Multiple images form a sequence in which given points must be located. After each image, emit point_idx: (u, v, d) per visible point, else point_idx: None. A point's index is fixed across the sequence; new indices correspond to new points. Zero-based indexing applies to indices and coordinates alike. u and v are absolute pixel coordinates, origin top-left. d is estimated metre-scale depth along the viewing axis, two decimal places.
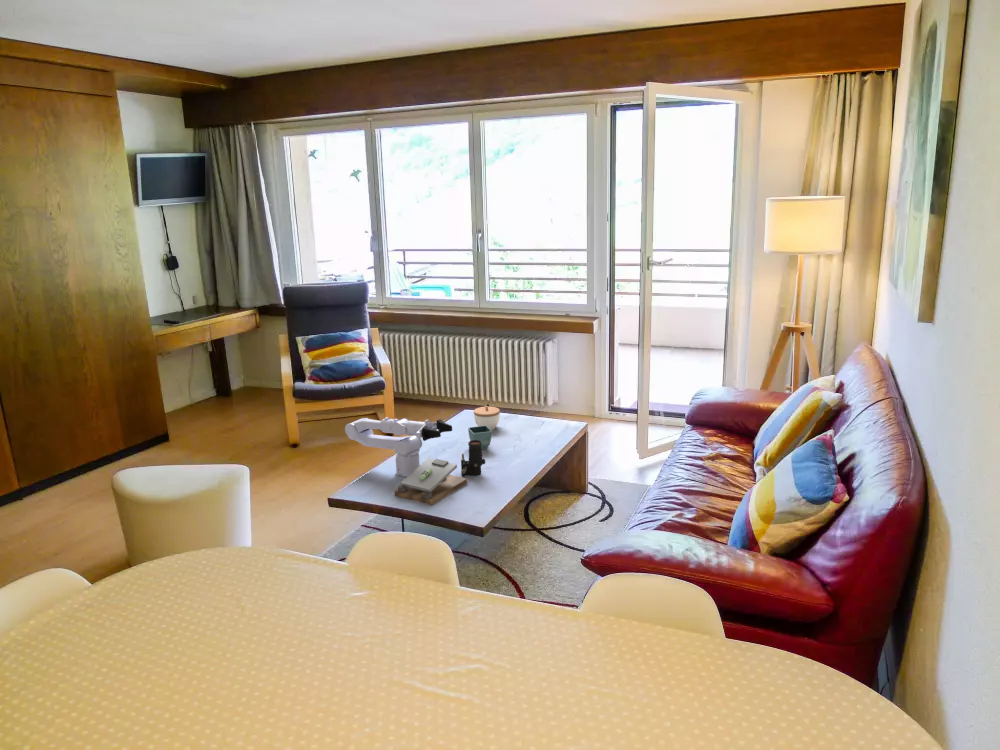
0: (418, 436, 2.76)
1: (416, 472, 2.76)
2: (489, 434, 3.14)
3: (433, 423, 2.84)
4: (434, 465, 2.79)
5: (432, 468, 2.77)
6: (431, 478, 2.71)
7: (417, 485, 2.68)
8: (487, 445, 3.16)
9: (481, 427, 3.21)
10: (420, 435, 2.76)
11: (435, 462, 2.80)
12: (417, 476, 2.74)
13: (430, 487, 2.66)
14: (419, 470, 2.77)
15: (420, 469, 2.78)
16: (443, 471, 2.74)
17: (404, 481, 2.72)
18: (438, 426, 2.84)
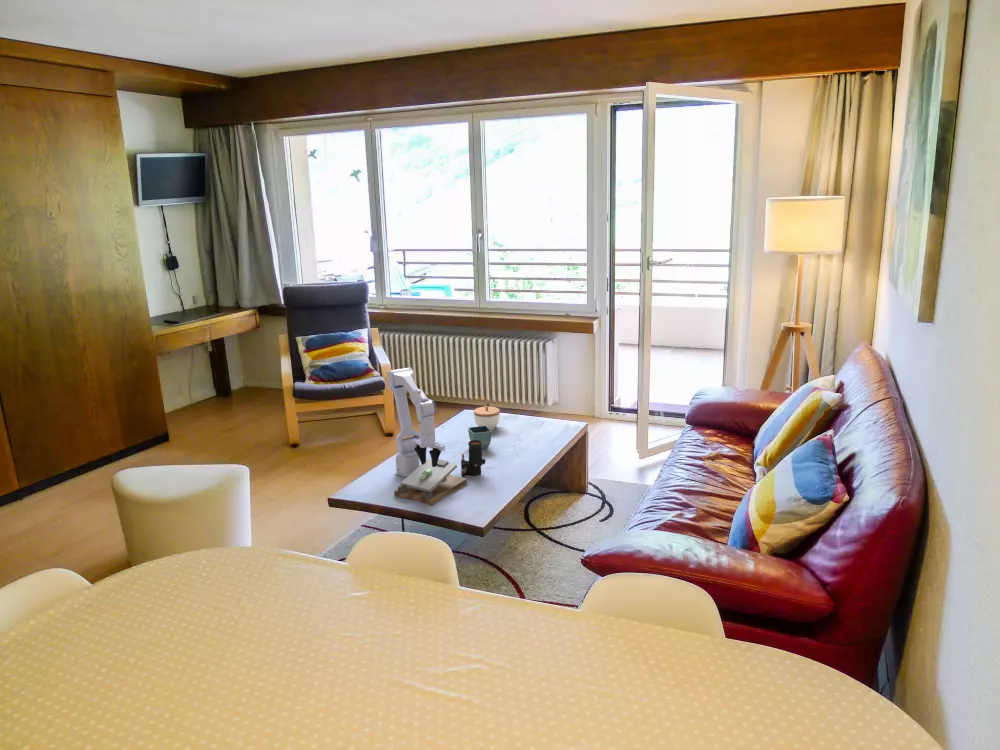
0: None
1: (416, 472, 2.76)
2: (489, 434, 3.14)
3: None
4: None
5: (432, 468, 2.77)
6: (431, 478, 2.71)
7: (417, 485, 2.68)
8: (487, 445, 3.16)
9: (481, 427, 3.21)
10: None
11: None
12: (417, 476, 2.74)
13: (430, 487, 2.66)
14: (419, 470, 2.77)
15: (420, 469, 2.78)
16: (443, 471, 2.74)
17: (404, 481, 2.72)
18: None
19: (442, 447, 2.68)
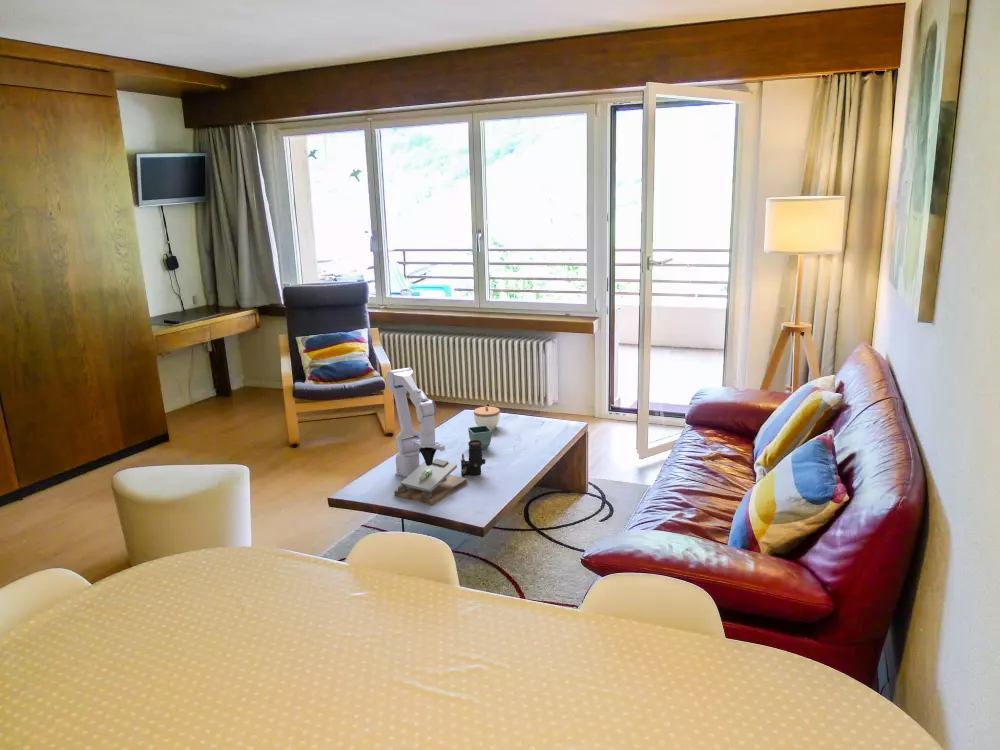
0: None
1: (416, 472, 2.76)
2: (489, 434, 3.14)
3: None
4: (434, 465, 2.79)
5: (432, 468, 2.77)
6: (431, 478, 2.71)
7: (417, 485, 2.68)
8: (487, 445, 3.16)
9: (481, 427, 3.21)
10: None
11: (435, 462, 2.80)
12: (417, 476, 2.74)
13: (430, 487, 2.66)
14: (419, 470, 2.77)
15: (420, 469, 2.78)
16: (443, 471, 2.74)
17: (404, 481, 2.72)
18: None
19: (442, 447, 2.68)
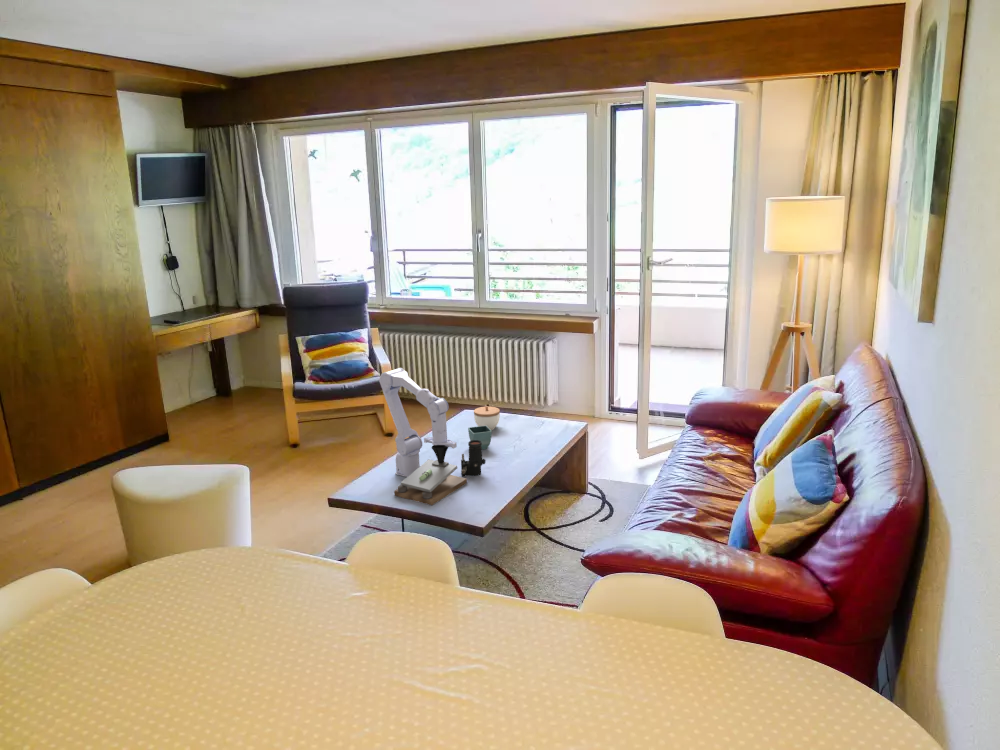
0: None
1: (416, 472, 2.77)
2: (489, 434, 3.14)
3: None
4: (434, 466, 2.79)
5: (432, 469, 2.78)
6: (431, 478, 2.71)
7: (417, 485, 2.68)
8: (487, 445, 3.16)
9: (481, 427, 3.21)
10: None
11: (435, 463, 2.80)
12: (417, 476, 2.74)
13: (430, 487, 2.66)
14: (419, 471, 2.78)
15: (420, 469, 2.79)
16: (443, 472, 2.75)
17: (404, 481, 2.72)
18: None
19: (454, 444, 2.74)
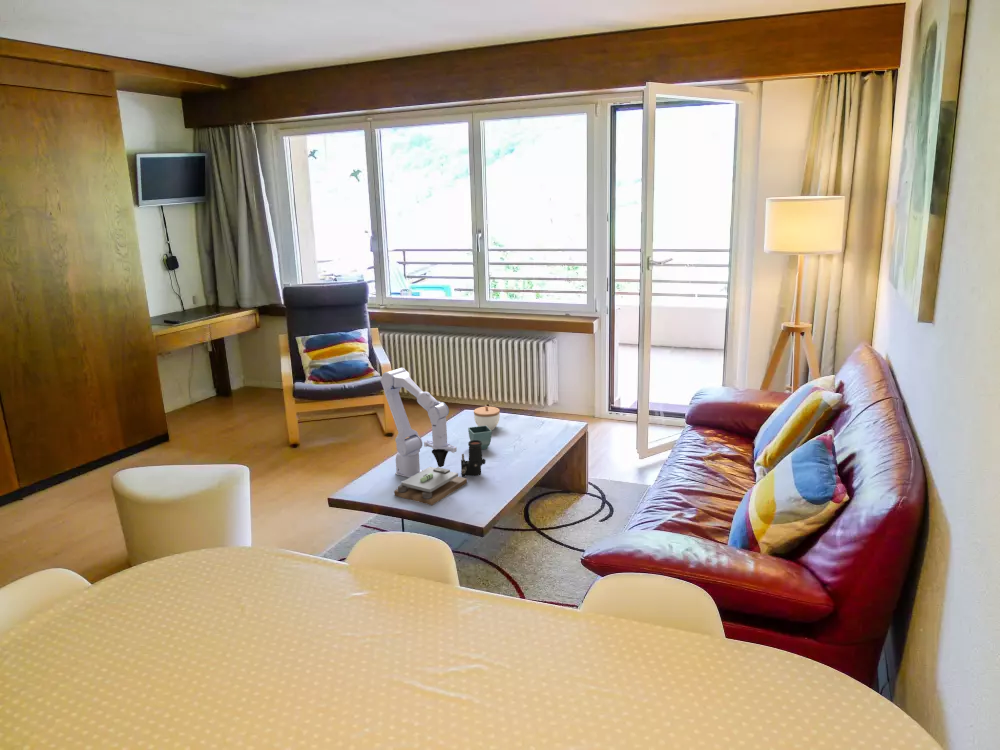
0: None
1: (417, 476, 2.77)
2: (489, 434, 3.14)
3: None
4: (435, 472, 2.81)
5: (433, 474, 2.79)
6: (432, 481, 2.72)
7: (417, 485, 2.68)
8: (487, 445, 3.16)
9: (481, 427, 3.21)
10: None
11: (437, 469, 2.81)
12: (418, 479, 2.74)
13: (431, 487, 2.66)
14: (420, 474, 2.78)
15: (421, 473, 2.79)
16: (444, 477, 2.75)
17: (405, 481, 2.72)
18: None
19: (454, 449, 2.75)
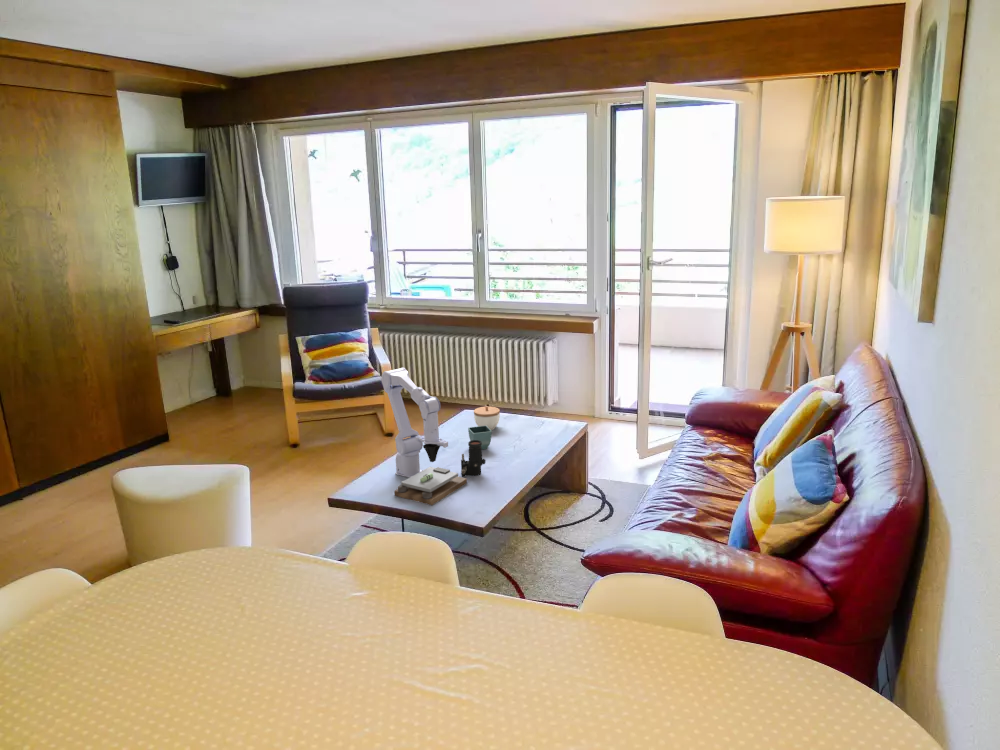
0: None
1: (417, 476, 2.77)
2: (489, 434, 3.14)
3: None
4: (435, 472, 2.81)
5: (433, 474, 2.79)
6: (432, 481, 2.72)
7: (417, 485, 2.68)
8: (487, 445, 3.16)
9: (481, 427, 3.21)
10: None
11: (437, 469, 2.81)
12: (418, 479, 2.74)
13: (431, 487, 2.66)
14: (420, 474, 2.78)
15: (421, 473, 2.79)
16: (444, 477, 2.75)
17: (405, 481, 2.72)
18: None
19: (445, 444, 2.72)
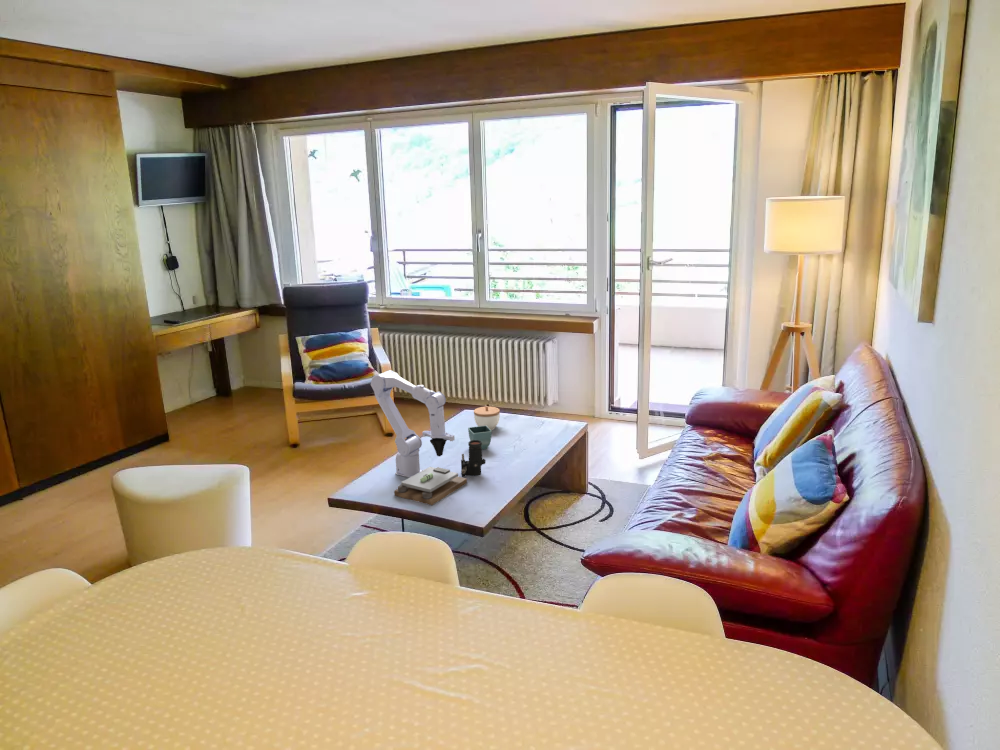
0: None
1: (417, 476, 2.77)
2: (489, 434, 3.14)
3: None
4: (435, 472, 2.81)
5: (433, 474, 2.79)
6: (432, 481, 2.72)
7: (417, 485, 2.68)
8: (487, 445, 3.16)
9: (481, 427, 3.21)
10: None
11: (437, 469, 2.81)
12: (418, 479, 2.74)
13: (431, 487, 2.66)
14: (420, 474, 2.78)
15: (421, 473, 2.79)
16: (444, 477, 2.75)
17: (405, 481, 2.72)
18: None
19: (452, 437, 2.77)
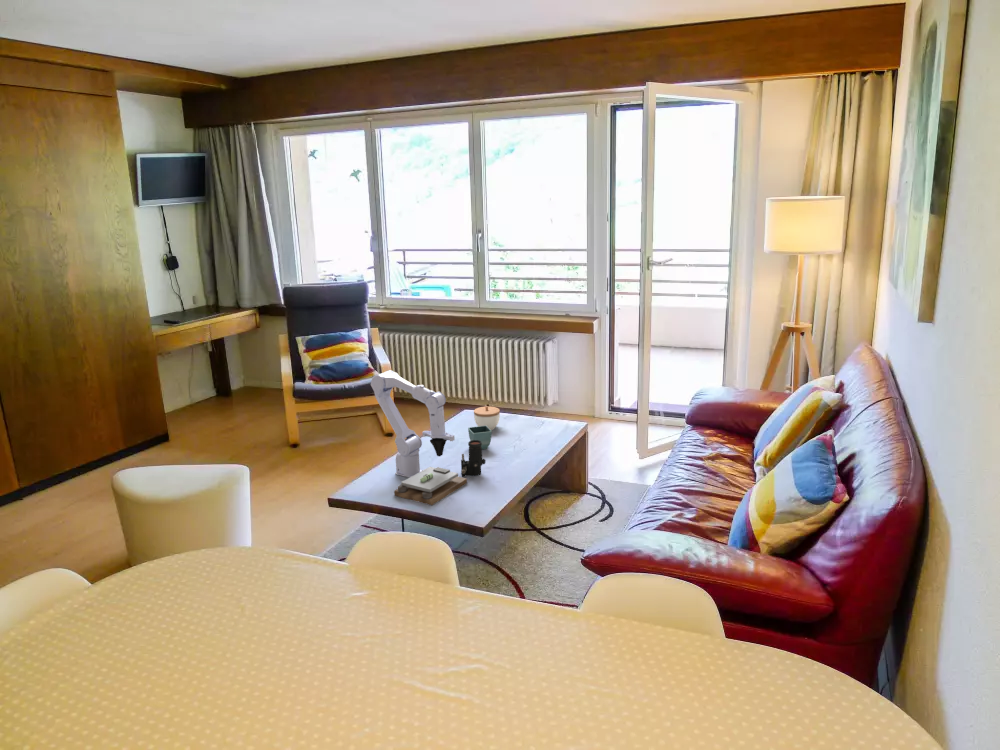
0: None
1: (417, 476, 2.77)
2: (489, 434, 3.14)
3: None
4: (435, 472, 2.81)
5: (433, 474, 2.79)
6: (432, 481, 2.72)
7: (417, 485, 2.68)
8: (487, 445, 3.16)
9: (481, 427, 3.21)
10: None
11: (437, 469, 2.81)
12: (418, 479, 2.74)
13: (431, 487, 2.66)
14: (420, 474, 2.78)
15: (421, 473, 2.79)
16: (444, 477, 2.75)
17: (405, 481, 2.72)
18: None
19: (452, 437, 2.77)
